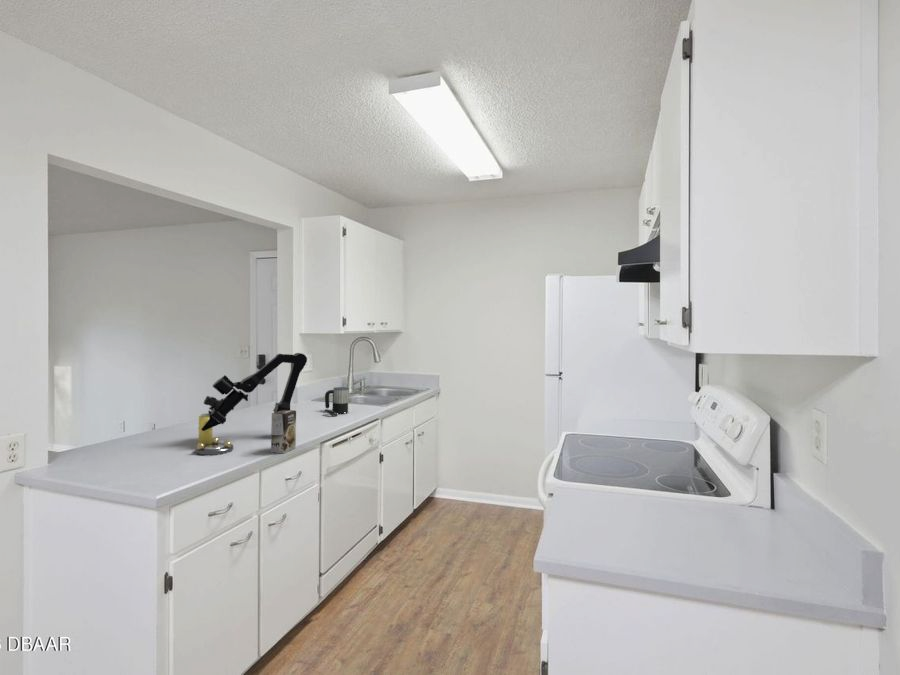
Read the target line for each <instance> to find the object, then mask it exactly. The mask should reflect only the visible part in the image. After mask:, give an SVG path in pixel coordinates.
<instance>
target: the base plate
mask: <svg viewBox="0 0 900 675" xmlns="http://www.w3.org/2000/svg"><path fill="white" fill-rule="evenodd" d="M232 450H233V451H234V444H233V443H232V442H231V441H229V440H227V441H224V442H219V437H212V443H211V444H205V445H204V443H199V442H198V443H197V444H196V447H195V449H194V453H195V454H196V453H197V454H200V455H199V456H204V455H210V456H218V455H217V454H220V455H224V454H223V453H225V454H228V453H227V452H229V453H231V452H233V451H232ZM230 451H231V452H230ZM197 454H196V455H197Z"/></svg>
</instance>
